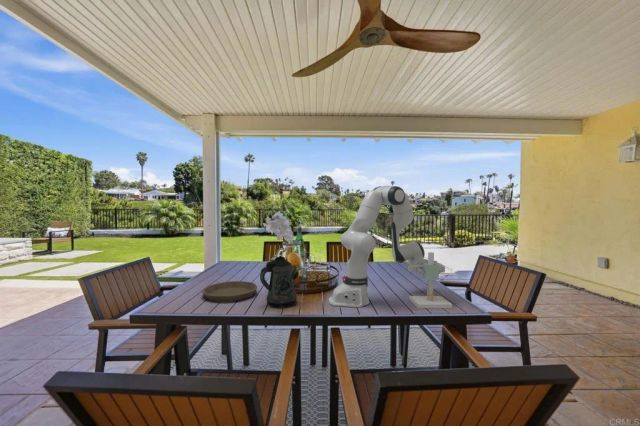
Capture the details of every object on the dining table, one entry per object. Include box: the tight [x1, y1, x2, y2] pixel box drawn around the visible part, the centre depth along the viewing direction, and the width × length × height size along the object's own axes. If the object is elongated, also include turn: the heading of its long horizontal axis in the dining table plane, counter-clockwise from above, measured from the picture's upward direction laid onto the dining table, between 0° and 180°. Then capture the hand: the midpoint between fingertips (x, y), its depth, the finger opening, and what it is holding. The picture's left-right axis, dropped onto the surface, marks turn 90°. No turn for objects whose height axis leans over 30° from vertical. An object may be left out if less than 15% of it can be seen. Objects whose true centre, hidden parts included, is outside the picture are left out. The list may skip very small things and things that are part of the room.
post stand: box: [409, 251, 453, 309], centre depth 163 cm, size 18×14×28 cm
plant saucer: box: [201, 280, 258, 303], centre depth 176 cm, size 31×31×5 cm
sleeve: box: [422, 263, 440, 281], centre depth 162 cm, size 6×6×8 cm
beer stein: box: [259, 256, 298, 309], centre depth 161 cm, size 16×19×25 cm
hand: (431, 271), depth 162 cm, fingers open, 8 cm apart
